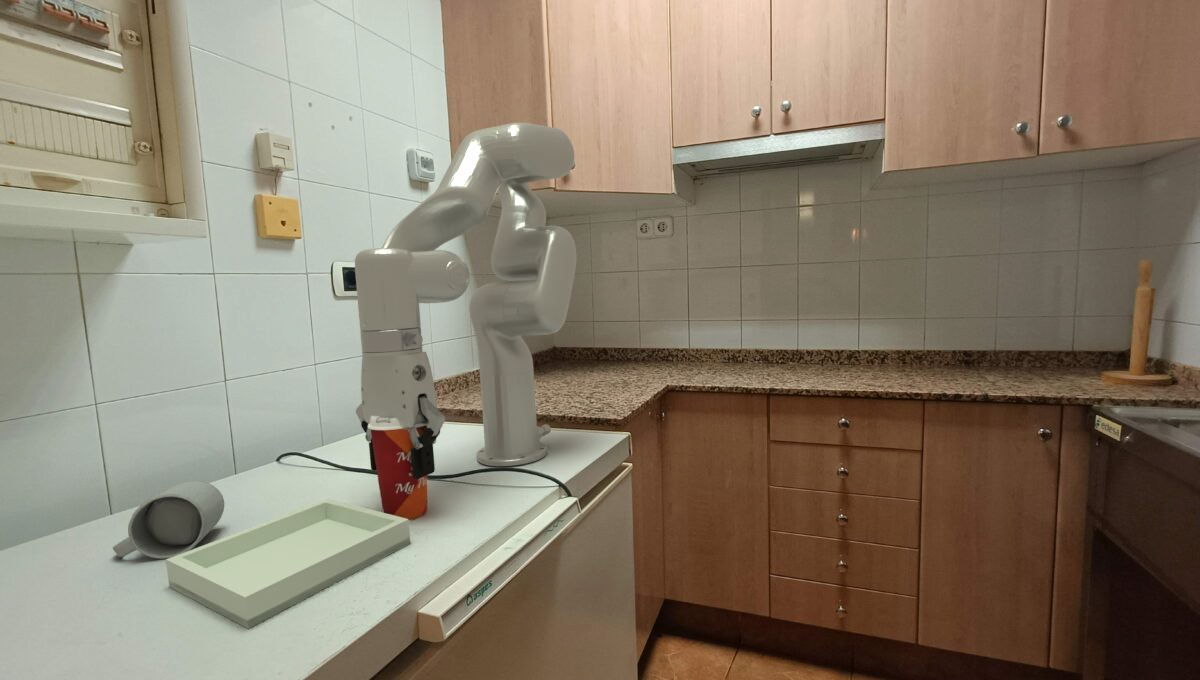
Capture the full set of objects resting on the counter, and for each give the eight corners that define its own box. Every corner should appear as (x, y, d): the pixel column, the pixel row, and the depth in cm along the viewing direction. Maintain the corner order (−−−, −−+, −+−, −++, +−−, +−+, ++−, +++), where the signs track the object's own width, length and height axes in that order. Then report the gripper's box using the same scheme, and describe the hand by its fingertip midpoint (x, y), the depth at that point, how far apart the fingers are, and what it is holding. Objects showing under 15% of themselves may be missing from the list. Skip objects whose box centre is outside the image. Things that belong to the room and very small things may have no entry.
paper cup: (416, 527, 67) (407, 419, 66) (363, 524, 69) (353, 419, 68) (446, 502, 75) (438, 406, 74) (397, 501, 77) (389, 406, 76)
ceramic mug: (231, 525, 71) (224, 469, 70) (208, 552, 63) (200, 490, 63) (135, 542, 68) (126, 484, 67) (98, 572, 60) (88, 507, 59)
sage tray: (330, 520, 71) (328, 498, 71) (410, 543, 63) (408, 519, 63) (169, 586, 56) (165, 559, 55) (248, 629, 47) (245, 597, 47)
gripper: (460, 340, 69) (469, 471, 70) (374, 340, 78) (384, 456, 79) (414, 346, 62) (425, 490, 64) (326, 345, 71) (337, 471, 73)
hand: (402, 470), depth 72 cm, fingers closed on paper cup, 7 cm apart
